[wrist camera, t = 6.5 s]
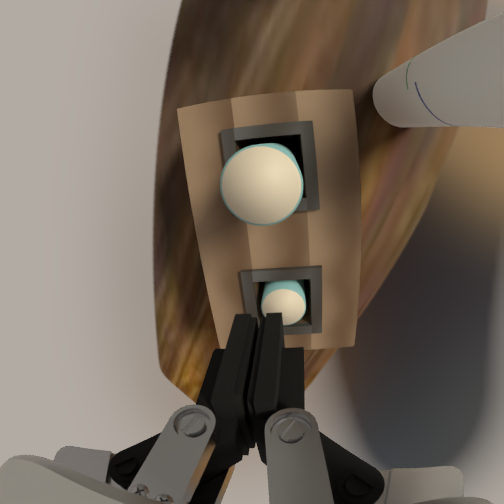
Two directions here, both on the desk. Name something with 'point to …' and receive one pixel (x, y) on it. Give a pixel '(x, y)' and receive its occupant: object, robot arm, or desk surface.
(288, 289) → the peg
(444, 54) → the cylindrical container
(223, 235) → the walnut block
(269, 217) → the peg
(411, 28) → the desk surface
